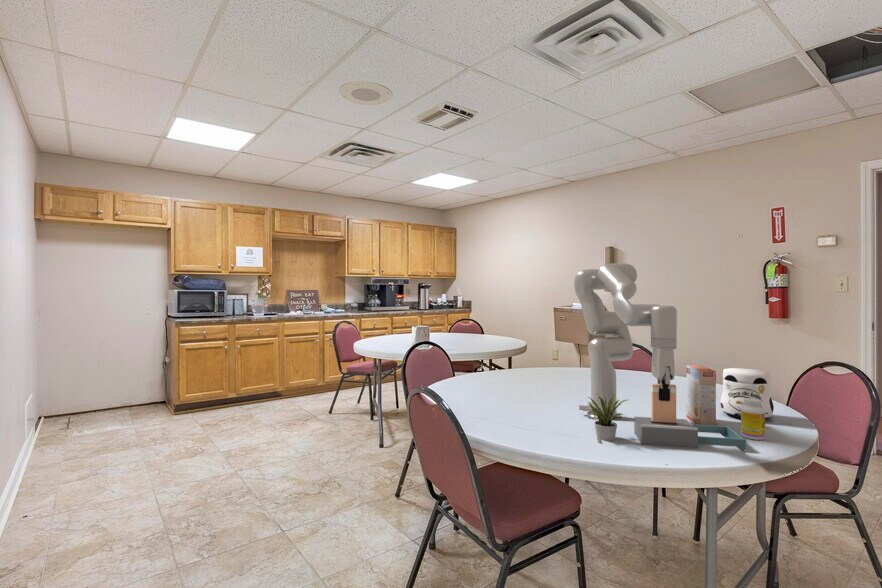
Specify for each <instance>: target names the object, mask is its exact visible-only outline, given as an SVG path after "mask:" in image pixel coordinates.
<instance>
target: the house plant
mask: <svg viewBox="0 0 882 588" xmlns="http://www.w3.org/2000/svg"><path fill="white" fill-rule="evenodd" d="M596 395H597V394H596ZM597 396H598V395H597ZM615 396H616V397H617V393H616V395H613V396H612V397H611V399H610V400H609V403H608V404H607V402H606V397H605V395H604V397H605V403H604V400H603V399H602V398H601V397H600V396H598V397H599V399H600V401H601V405H602V408H603V412H604V415H603V413H602V410H601V409H600V408H599V407H598V405H597V404H596V403H595V401H593V400H592V399H591V397H590V396H586V397H587V398H588V399H589V400H590V401H587V403H588V405H590V407H591V408H592V410H590V411H594V412H591V413H594V414H596V415H597V416H598V419H599V420H596V421H594V429H595V434H596V440H597V443H598V444H600V445H603V442H602V441H609V442H610V441H614V440H615V439H616V435H617V428H618V424H617V423H616V422H614V421H613V419H617V418H620V419H623V417H622V416H625V415H624V414H623V413H622V412H621V413H619V412H618V413H619V414H616V415H615V416H614V417H612V414H613V412H614V411H615V409H616V410H617V409H618V407H619V406H621V405H622V403H624V402H626V401H628V399H624V400H621V401H620V399H616V402H615V404H614V405H613V408H612V410H610V408H611V405H612V403H613V402H612V401H613V399H614V397H615ZM591 400H592V401H593V402H592V403H593V404H594V405H595V406H596V407H597V408H596V407H594V406H593V405H592V404H591ZM607 406H608V408H607ZM615 406H616V407H615ZM597 409H598V410H599V411H598V410H597ZM617 415H621V417H616V416H617ZM611 417H612V419H611ZM625 417H626V416H625ZM593 418H597V417H595V416H594V417H592V418H591V419H593Z"/></svg>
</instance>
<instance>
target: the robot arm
mask: <svg viewBox="0 0 882 588" xmlns="http://www.w3.org/2000/svg"><path fill="white" fill-rule="evenodd" d="M637 278H638V273H637V269H636V268H635V267H634V265H633V264H629V263H612V262H611V263H605V264H603V265H601V266H600V267H599V268H590V269H589V268H587V269H582V270H580V271H578V272H577V273H576V275H575V278H574V284H573V287H574V291H575V293H576V297H577V299H578V301H579V304H580V305H581V310H582V315H583V318H584V319H583V320H584V323H585V327H586V330H587V331H588V333H589V335H591V336H602V337H596V338H593V339H591V340H590V341H589V342H588V345H587V352H588V357H589V364H590V398H591V399H592V400H593V401H595V403H596V404H597V405H598V407H599V408H600V409H601V410H602V413H603V415H604V412H603V408H602V405H601V401H600V399H599V397H598V396H600V397H601V398H602V399H603V400H604V403H605V397H606V402H607V404H608V403H609V400H610V399H611V397H612V396H613V395H616V394H617V373H616V369H615V367H614V366H613V364H612V362H619V361H622V362H623V361H629V360H630V359H631V358H632V356H633V355H634V346H633V341H632V338H631V334H630V330H629V327H650V348H651V349H652V351H651V353H652V354H651V368H650V369H651V375H652V377H654V378H655V379H656V381H657V383H656V384H660V388H659V400H660V401H670V385H671V381H673V380H674V379H675V370H676V369H675V350H676V349H677V348H678V347H677V341H678V339H677V337H678V335H677V334H678V333H677V331H678V330H677V329H678V328H677V327H678V326H677V325H678V324H677V322H678V318H677V317H678V315H677V314H678V310H677V307H675V306H673V305H660V304H655V303H650V304H649V303H643V304H642V303H638V304H636V303H635V304H634V303H631V302H630V301H629V300H630V299H632V298H633V297H634V296H635V294H636V293H637V290H638V289H637V284H636V283H635V282H637ZM594 290H600V291H601V290H602V291H603V290H604V291H605V290H606V291H607V290H608V291H609V292H610V293H611V294H612V296H613V300H612V305H613V310H614V311H606V309H605V307H604V303H603V300H602V299H601V297H600V296H599V295H598V294H597V293H596V292H595V291H594ZM603 336H604V337H603ZM596 394H597V395H598V396H597V395H596ZM604 395H605V397H604ZM591 399H590V403H591V404H592V405H593V406H594V407H596V406H595V405H594V404H593V403H592V402H593V401H592V400H591ZM616 401H617V395H616V396H615V397H614V399H613V401H612V402H613V403H612V405H611V408H610V410H612V408H613V405H614V404H615V402H616ZM616 406H617V405H616ZM616 406H615V407H616ZM596 408H597V407H596ZM607 408H608V406H607ZM578 409H579V410H578V411H583V412H586V415H587V417H589V418H591V419H593V420H596V421H599V419H598V416H597V415H596V414H594V413H591V412H594V411H590V410H592V408H591V407H590V404H587V405H583V404H582V405H581V404H579V405H578ZM597 410H598V409H597ZM598 411H599V410H598ZM616 414H619V412H617V408H616V409H615V411H614V412H613V414H612V417H614V416H615V415H616ZM594 416H595V417H597V418H592V417H594ZM612 417H611V419H612ZM616 417H622V415H617V416H616ZM620 419H621V418H617V419H613V420H612V422H614V421H619V420H620Z"/></svg>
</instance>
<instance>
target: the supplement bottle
mask: <svg viewBox="0 0 882 588" xmlns="http://www.w3.org/2000/svg"><path fill="white" fill-rule="evenodd" d="M744 402H745V406H742V408H741V418H740V423H741V424H740V431H741V433H740V434H741V435H740V436H742V437H743V438H744V439H748V438H749V440H753V439H754V440H755V441H762V440H765V438H766V419H765V411H764V409H763V408H761V407H760V405H761V400H759V399H754V398H745V399H744ZM754 440H753V441H754Z"/></svg>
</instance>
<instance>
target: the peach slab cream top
mask: <svg viewBox="0 0 882 588" xmlns="http://www.w3.org/2000/svg"><path fill="white" fill-rule="evenodd" d="M659 388H660V384H657V383H651V387H650V390H651V418H652V421H653V422H669V423H676V419H677V385H676V384H670V401H660V400H659Z"/></svg>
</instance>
